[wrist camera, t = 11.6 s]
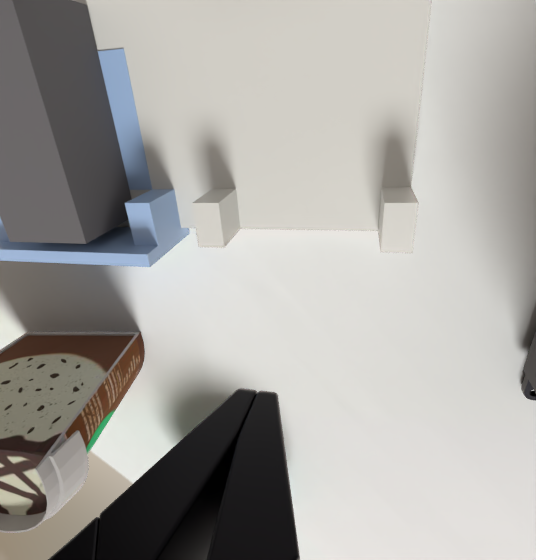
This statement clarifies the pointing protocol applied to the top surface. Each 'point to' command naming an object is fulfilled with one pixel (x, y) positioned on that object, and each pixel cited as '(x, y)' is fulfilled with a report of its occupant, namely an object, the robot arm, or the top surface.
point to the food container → (56, 415)
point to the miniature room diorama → (255, 121)
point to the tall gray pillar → (56, 127)
